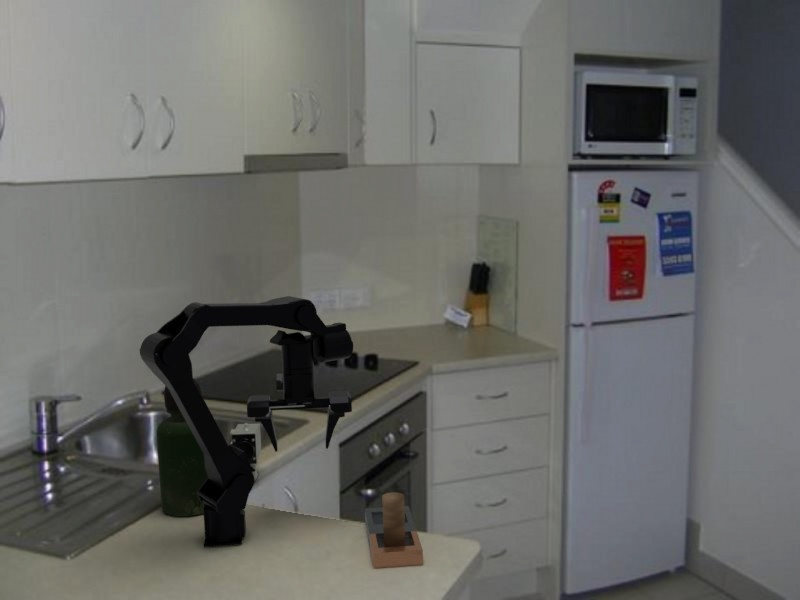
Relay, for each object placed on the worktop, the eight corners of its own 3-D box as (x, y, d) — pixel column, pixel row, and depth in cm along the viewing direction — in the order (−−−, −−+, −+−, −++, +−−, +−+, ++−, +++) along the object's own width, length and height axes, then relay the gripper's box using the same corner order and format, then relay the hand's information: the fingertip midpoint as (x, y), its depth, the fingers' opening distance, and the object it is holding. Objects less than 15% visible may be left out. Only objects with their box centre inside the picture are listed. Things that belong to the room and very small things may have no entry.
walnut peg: (385, 559, 150) (383, 500, 149) (383, 550, 154) (381, 493, 152) (406, 557, 151) (405, 499, 149) (404, 548, 154) (402, 491, 153)
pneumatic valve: (263, 469, 198) (260, 415, 196) (256, 488, 186) (253, 430, 184) (237, 470, 197) (234, 416, 196) (229, 489, 186) (226, 431, 184)
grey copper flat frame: (373, 568, 147) (373, 553, 146) (365, 521, 166) (364, 508, 166) (423, 564, 148) (422, 549, 147) (408, 518, 167) (408, 505, 167)
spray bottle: (150, 514, 173) (141, 385, 170) (182, 496, 183) (174, 373, 179) (197, 520, 169) (189, 388, 166) (227, 501, 179) (220, 376, 176)
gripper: (347, 355, 174) (350, 434, 176) (248, 359, 172) (252, 439, 175) (350, 367, 163) (353, 451, 165) (244, 372, 161) (249, 457, 164)
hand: (301, 449), depth 168 cm, fingers open, 9 cm apart
